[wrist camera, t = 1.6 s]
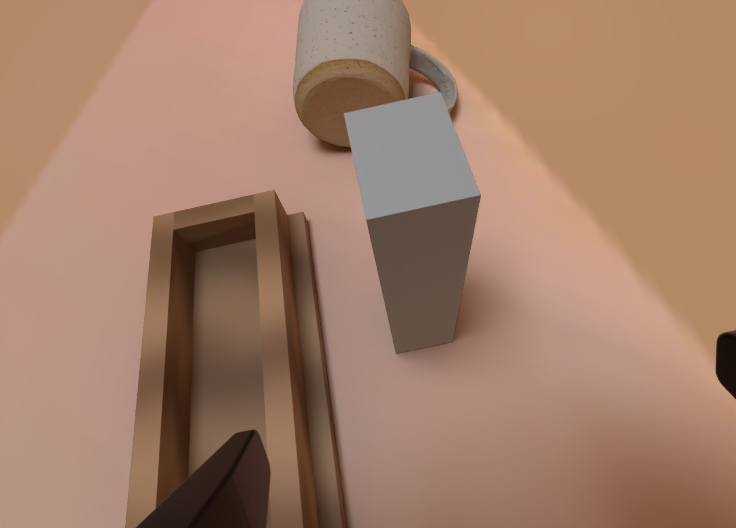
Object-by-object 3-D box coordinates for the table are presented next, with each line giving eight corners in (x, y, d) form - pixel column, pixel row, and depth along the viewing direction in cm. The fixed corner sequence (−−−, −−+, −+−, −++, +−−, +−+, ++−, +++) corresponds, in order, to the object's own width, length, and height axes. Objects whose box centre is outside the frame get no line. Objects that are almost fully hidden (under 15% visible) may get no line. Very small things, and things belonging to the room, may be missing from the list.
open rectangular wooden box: (359, 623, 17) (343, 655, 14) (142, 666, 17) (80, 706, 14) (307, 221, 26) (291, 186, 23) (170, 250, 26) (136, 220, 23)
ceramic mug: (305, 160, 29) (271, 61, 22) (313, 80, 33) (286, -26, 26) (460, 149, 28) (475, 42, 21) (450, 68, 32) (459, -45, 25)
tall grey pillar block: (452, 342, 22) (480, 194, 11) (396, 353, 22) (366, 219, 11) (433, 274, 23) (440, 91, 13) (381, 285, 24) (343, 113, 13)
